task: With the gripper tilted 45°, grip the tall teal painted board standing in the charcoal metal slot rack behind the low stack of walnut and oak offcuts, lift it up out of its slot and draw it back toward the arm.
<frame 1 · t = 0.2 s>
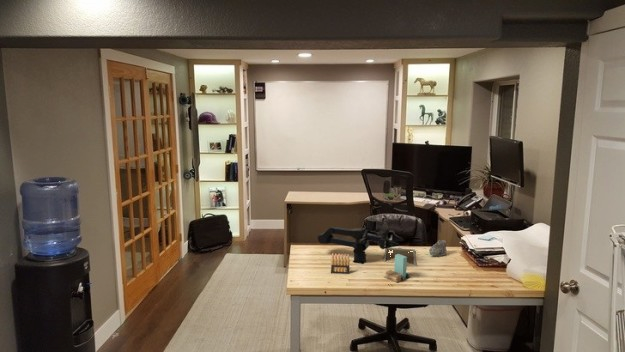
hand: (401, 242, 251), 16 cm above the table, tool horizontal, fingers open, 9 cm apart
rack: (399, 278, 241), on the table
offcut top: (393, 275, 237), point 3 cm above the table, touching offcut middle
clipboard: (399, 257, 275), on the table
mineral rock: (437, 255, 278), on the table
offcut bottom: (393, 279, 237), point 1 cm above the table, touching offcut middle, rack
tall sheet: (399, 276, 241), point 1 cm above the table, touching rack
offcut middle: (392, 276, 238), point 2 cm above the table, touching offcut bottom, offcut top
ammunition clip: (340, 273, 247), on the table
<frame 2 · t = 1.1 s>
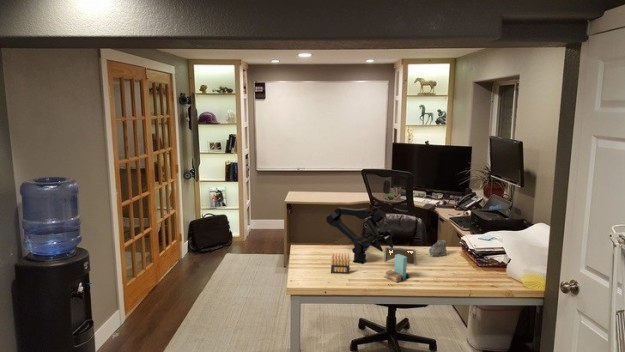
hand: (387, 249, 248), 13 cm above the table, tool tilted 45°, fingers open, 9 cm apart
nothing on the table moved.
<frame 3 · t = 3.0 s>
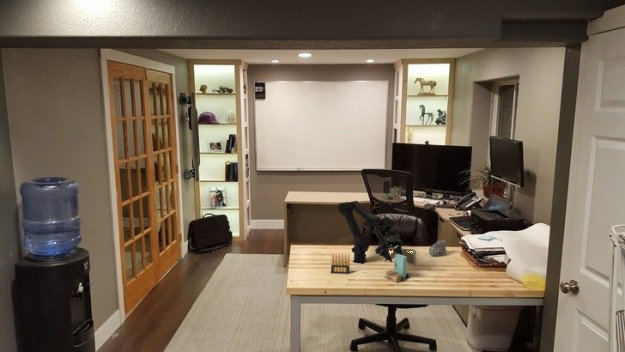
hand: (397, 259, 241), 10 cm above the table, tool tilted 45°, fingers open, 9 cm apart
nothing on the table moved.
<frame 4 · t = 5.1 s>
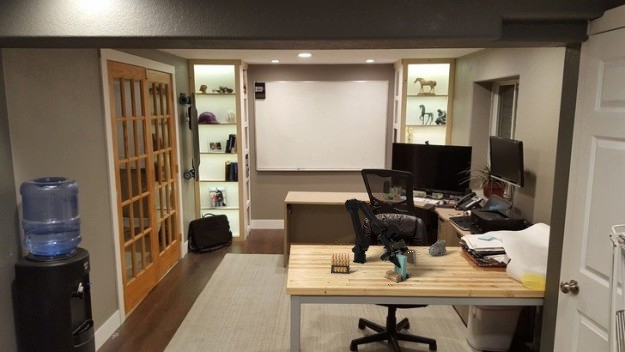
hand: (402, 266, 239), 7 cm above the table, tool tilted 45°, fingers closed on tall sheet, 3 cm apart
tall sheet: (399, 276, 241), point 1 cm above the table, touching gripper, rack
everything else where it was.
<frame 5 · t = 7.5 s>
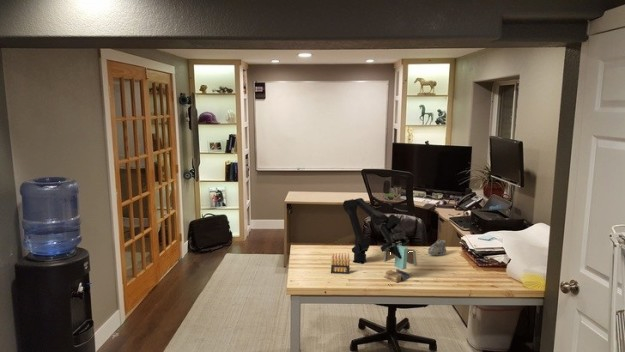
hand: (402, 257, 238), 12 cm above the table, tool tilted 45°, fingers closed on tall sheet, 3 cm apart
tall sheet: (400, 267, 240), point 6 cm above the table, touching gripper
everything else where it was.
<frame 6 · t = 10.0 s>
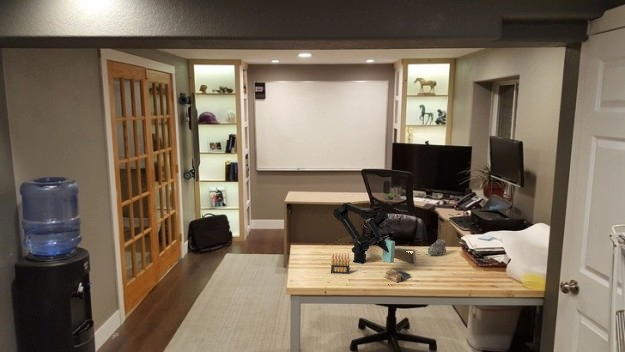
hand: (390, 251, 244), 13 cm above the table, tool tilted 45°, fingers closed on tall sheet, 3 cm apart
tall sheet: (387, 261, 247), point 7 cm above the table, touching gripper
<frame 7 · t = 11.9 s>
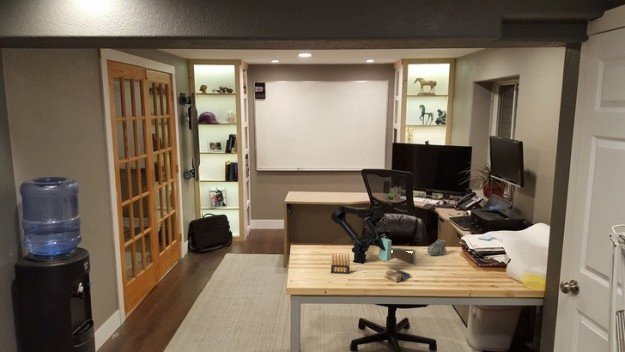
hand: (386, 249, 246), 14 cm above the table, tool tilted 45°, fingers closed on tall sheet, 3 cm apart
tall sheet: (384, 259, 249), point 7 cm above the table, touching gripper
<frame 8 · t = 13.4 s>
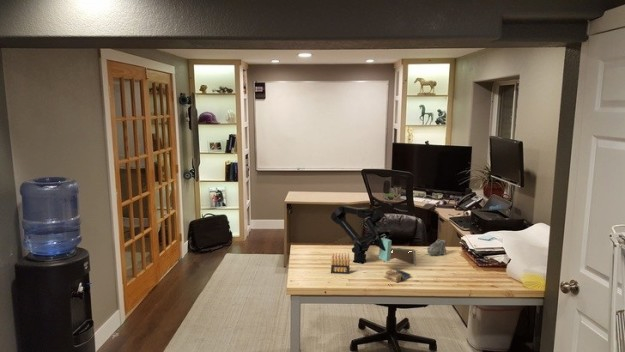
hand: (386, 249, 246), 14 cm above the table, tool tilted 45°, fingers closed on tall sheet, 3 cm apart
tall sheet: (384, 259, 249), point 7 cm above the table, touching gripper
at the end: the gripper is holding tall sheet; tall sheet point 7.4 cm above the table; tall sheet moved 13.3 cm from its start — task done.
